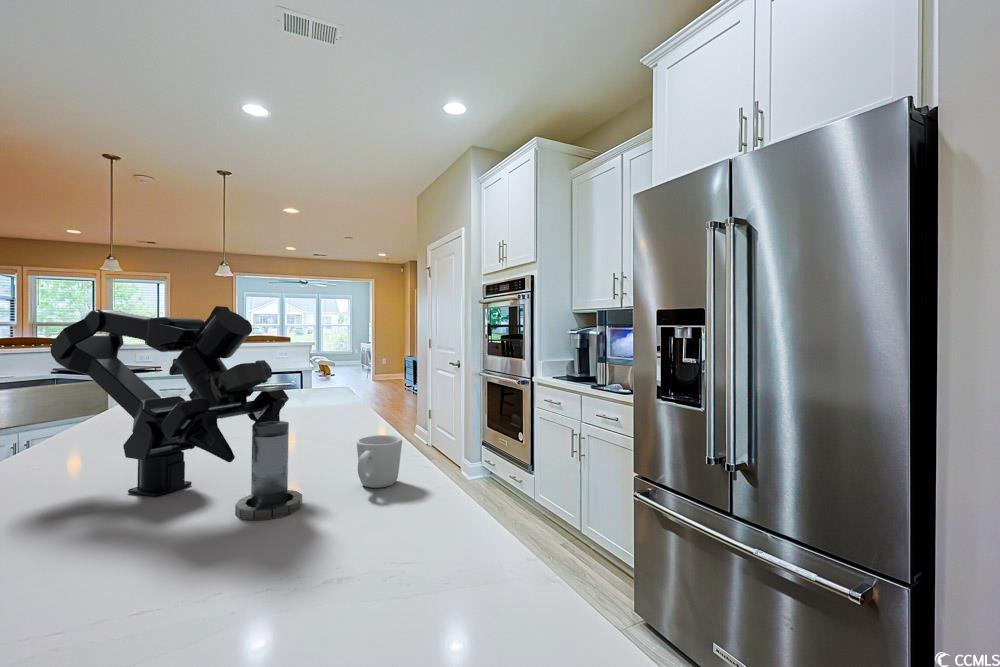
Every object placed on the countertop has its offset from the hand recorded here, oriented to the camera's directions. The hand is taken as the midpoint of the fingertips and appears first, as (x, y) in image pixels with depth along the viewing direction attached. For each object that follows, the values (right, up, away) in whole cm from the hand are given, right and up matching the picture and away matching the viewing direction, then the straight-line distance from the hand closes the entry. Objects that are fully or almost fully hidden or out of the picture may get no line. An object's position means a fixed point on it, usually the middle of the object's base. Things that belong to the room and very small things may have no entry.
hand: (258, 452), depth 71 cm
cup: (+15, -9, +10) cm, 20 cm away
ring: (+2, -8, -1) cm, 9 cm away
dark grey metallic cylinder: (+2, -8, -1) cm, 9 cm away
